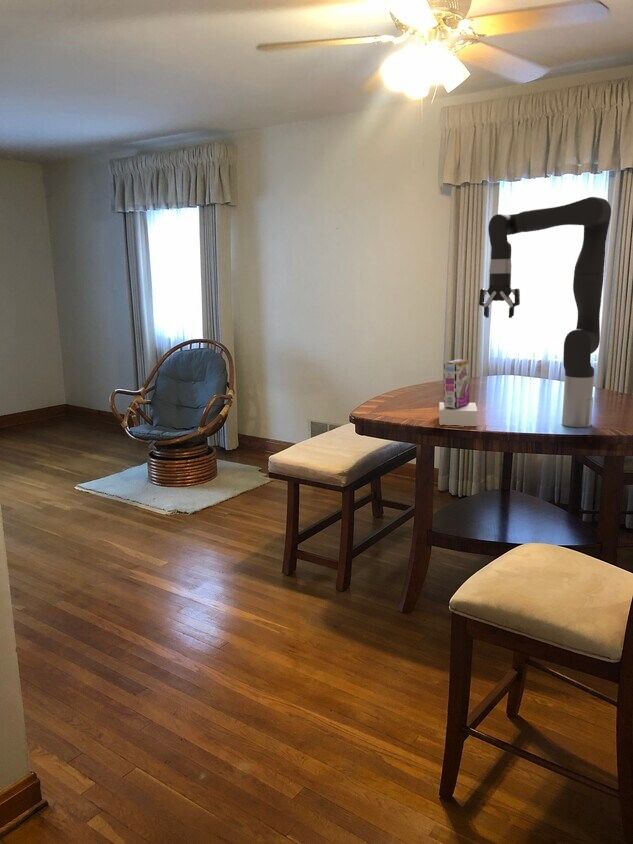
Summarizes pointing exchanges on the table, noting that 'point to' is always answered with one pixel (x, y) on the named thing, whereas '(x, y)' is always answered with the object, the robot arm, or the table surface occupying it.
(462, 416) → the white rectangular block
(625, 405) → the table surface
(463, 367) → the candy bar box
